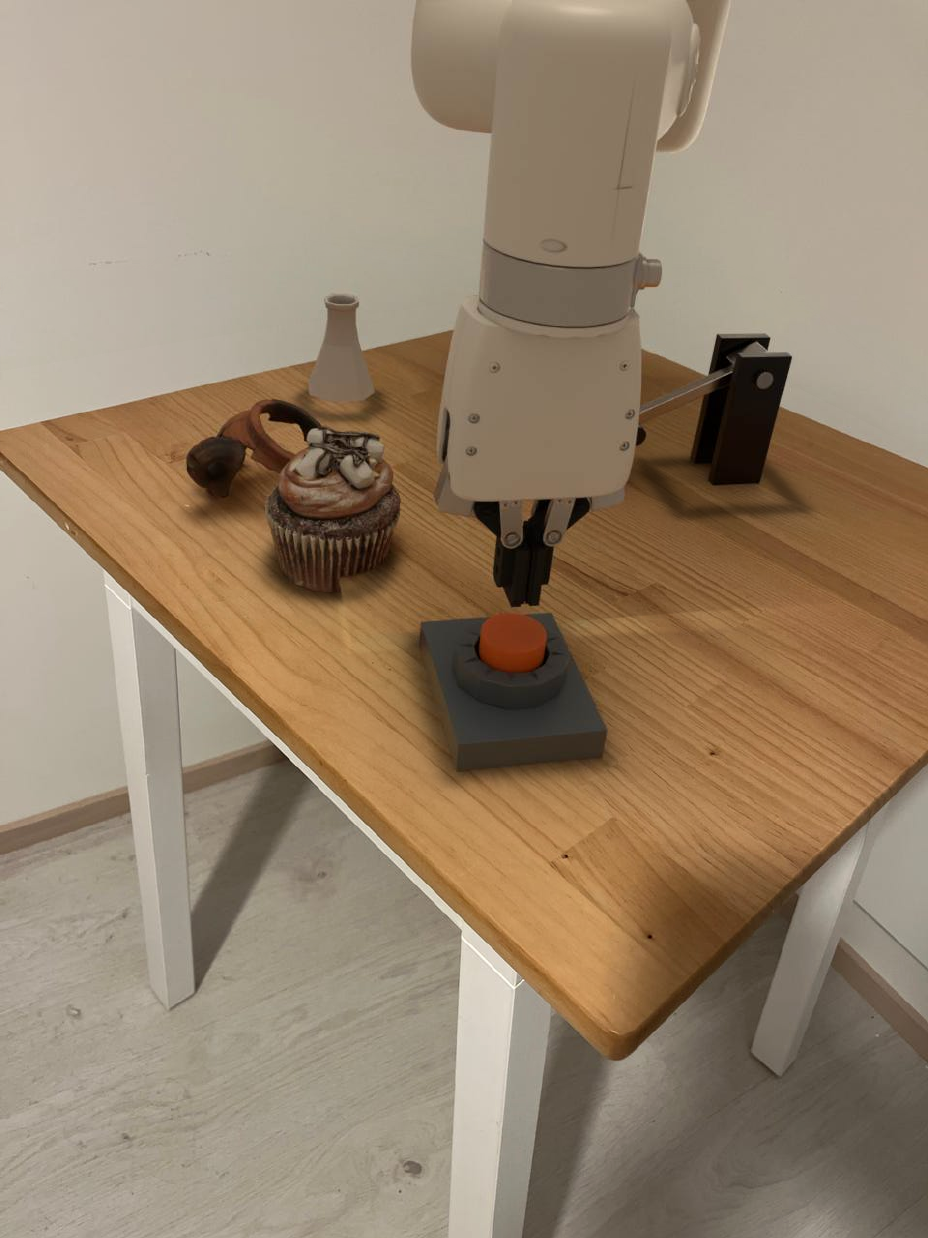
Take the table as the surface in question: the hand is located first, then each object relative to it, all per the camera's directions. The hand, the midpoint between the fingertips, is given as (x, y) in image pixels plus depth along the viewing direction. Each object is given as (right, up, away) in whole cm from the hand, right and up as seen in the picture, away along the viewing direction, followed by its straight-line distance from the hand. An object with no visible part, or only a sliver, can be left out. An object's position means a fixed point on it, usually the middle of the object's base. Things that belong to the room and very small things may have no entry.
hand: (518, 593), depth 63 cm
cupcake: (-13, +2, +17) cm, 21 cm away
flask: (-15, +19, +39) cm, 46 cm away
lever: (+16, +16, +26) cm, 34 cm away
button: (0, -4, +3) cm, 5 cm away
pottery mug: (-20, +9, +24) cm, 33 cm away
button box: (-1, -7, +5) cm, 8 cm away
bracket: (+19, +10, +31) cm, 38 cm away
